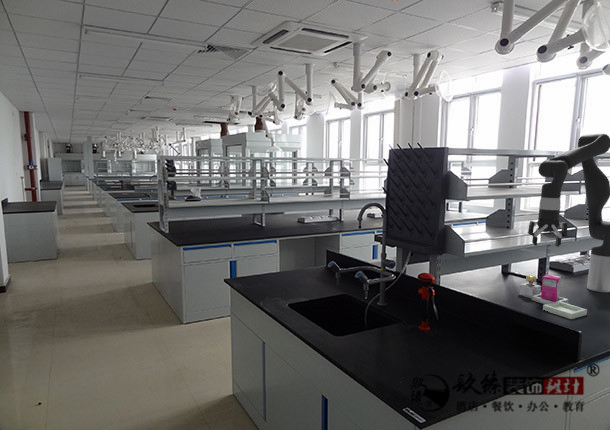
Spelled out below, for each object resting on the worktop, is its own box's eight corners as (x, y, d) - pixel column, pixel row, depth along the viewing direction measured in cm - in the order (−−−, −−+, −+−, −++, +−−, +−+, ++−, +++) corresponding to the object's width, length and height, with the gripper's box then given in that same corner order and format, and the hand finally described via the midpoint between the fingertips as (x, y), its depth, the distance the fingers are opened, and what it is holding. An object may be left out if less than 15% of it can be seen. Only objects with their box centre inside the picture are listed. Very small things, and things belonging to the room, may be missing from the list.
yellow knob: (528, 288, 184) (529, 274, 183) (537, 291, 181) (538, 277, 180) (523, 289, 182) (524, 275, 181) (531, 292, 179) (533, 278, 178)
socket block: (529, 292, 187) (530, 281, 186) (568, 303, 172) (569, 292, 171) (516, 295, 182) (517, 284, 181) (554, 307, 167) (555, 295, 167)
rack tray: (558, 305, 169) (558, 301, 169) (586, 314, 160) (587, 309, 159) (542, 309, 164) (543, 304, 164) (571, 319, 154) (571, 314, 154)
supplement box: (543, 298, 178) (546, 273, 177) (559, 302, 174) (561, 276, 172) (539, 301, 174) (542, 276, 172) (555, 305, 170) (558, 279, 168)
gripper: (564, 207, 172) (561, 245, 174) (528, 206, 175) (525, 243, 177) (572, 209, 164) (568, 248, 166) (534, 208, 167) (530, 246, 170)
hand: (546, 245), depth 172 cm, fingers open, 8 cm apart
